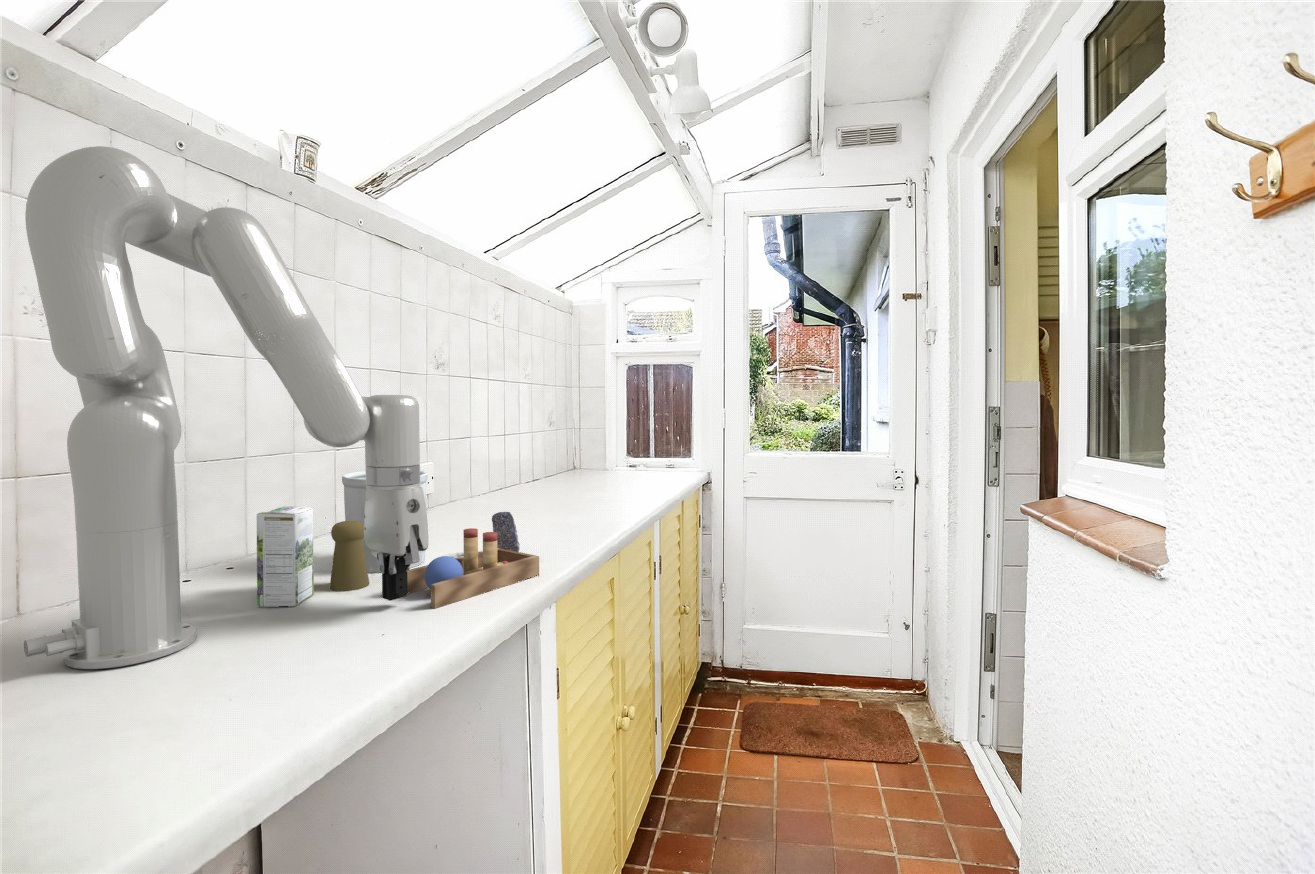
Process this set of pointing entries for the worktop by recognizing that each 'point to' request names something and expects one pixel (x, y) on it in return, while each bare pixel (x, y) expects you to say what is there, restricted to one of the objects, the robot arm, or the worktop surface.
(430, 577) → the ball
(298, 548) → the syrup box
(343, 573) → the cork
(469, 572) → the pin front
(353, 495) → the utensil holder
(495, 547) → the pin
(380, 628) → the worktop surface
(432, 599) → the lane
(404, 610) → the worktop surface
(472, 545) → the pin
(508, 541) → the rock
